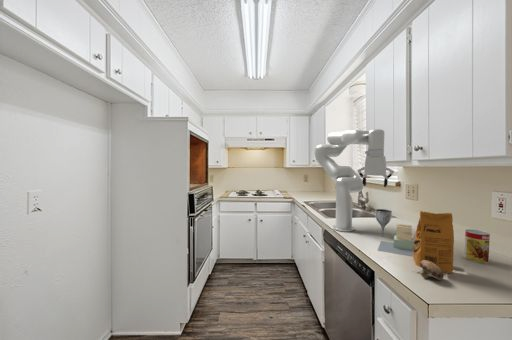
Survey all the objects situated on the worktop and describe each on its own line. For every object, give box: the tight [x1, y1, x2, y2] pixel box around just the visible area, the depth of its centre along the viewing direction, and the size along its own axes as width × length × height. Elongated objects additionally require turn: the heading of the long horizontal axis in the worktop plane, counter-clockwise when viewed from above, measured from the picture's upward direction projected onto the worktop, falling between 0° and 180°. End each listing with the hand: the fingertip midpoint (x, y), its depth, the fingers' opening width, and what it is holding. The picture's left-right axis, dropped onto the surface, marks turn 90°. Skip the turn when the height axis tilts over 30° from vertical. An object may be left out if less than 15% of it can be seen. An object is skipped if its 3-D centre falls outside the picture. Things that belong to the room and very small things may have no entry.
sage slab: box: [393, 234, 415, 251], centre depth 123 cm, size 8×8×4 cm
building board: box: [377, 240, 413, 258], centre depth 121 cm, size 17×15×1 cm
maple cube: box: [396, 223, 413, 241], centre depth 123 cm, size 6×6×6 cm
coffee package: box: [412, 210, 455, 274], centre depth 101 cm, size 10×12×22 cm
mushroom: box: [419, 260, 444, 281], centre depth 92 cm, size 8×8×6 cm
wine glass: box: [374, 208, 393, 238], centre depth 141 cm, size 8×8×15 cm
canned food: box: [464, 229, 491, 264], centre depth 111 cm, size 8×8×12 cm
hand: (374, 186), depth 136 cm, fingers open, 9 cm apart
